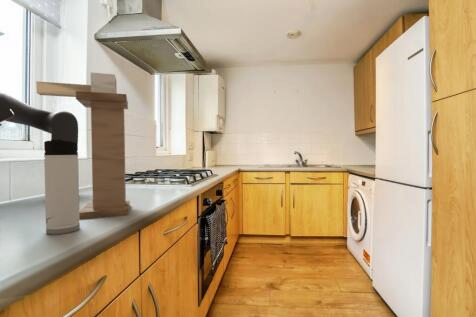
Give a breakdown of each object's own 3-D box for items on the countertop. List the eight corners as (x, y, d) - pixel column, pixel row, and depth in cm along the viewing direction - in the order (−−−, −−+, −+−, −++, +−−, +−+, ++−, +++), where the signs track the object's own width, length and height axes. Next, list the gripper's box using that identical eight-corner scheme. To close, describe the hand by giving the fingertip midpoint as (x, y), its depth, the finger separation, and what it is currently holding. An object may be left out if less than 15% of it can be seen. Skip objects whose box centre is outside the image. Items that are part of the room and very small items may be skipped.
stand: (87, 208, 84) (85, 100, 83) (129, 205, 88) (127, 102, 87) (78, 218, 71) (75, 91, 70) (128, 214, 75) (126, 94, 74)
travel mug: (40, 236, 56) (37, 139, 56) (52, 227, 63) (50, 140, 62) (74, 233, 58) (72, 139, 57) (83, 225, 64) (81, 140, 64)
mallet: (42, 96, 77) (42, 74, 76) (116, 100, 83) (116, 80, 83) (33, 91, 70) (33, 67, 70) (115, 95, 77) (114, 74, 76)
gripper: (-101, 124, 59) (-19, 90, 63) (-57, 129, 72) (8, 101, 77) (-76, 154, 60) (1, 119, 65) (-38, 153, 74) (25, 125, 78)
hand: (5, 109), depth 71 cm, fingers open, 8 cm apart
